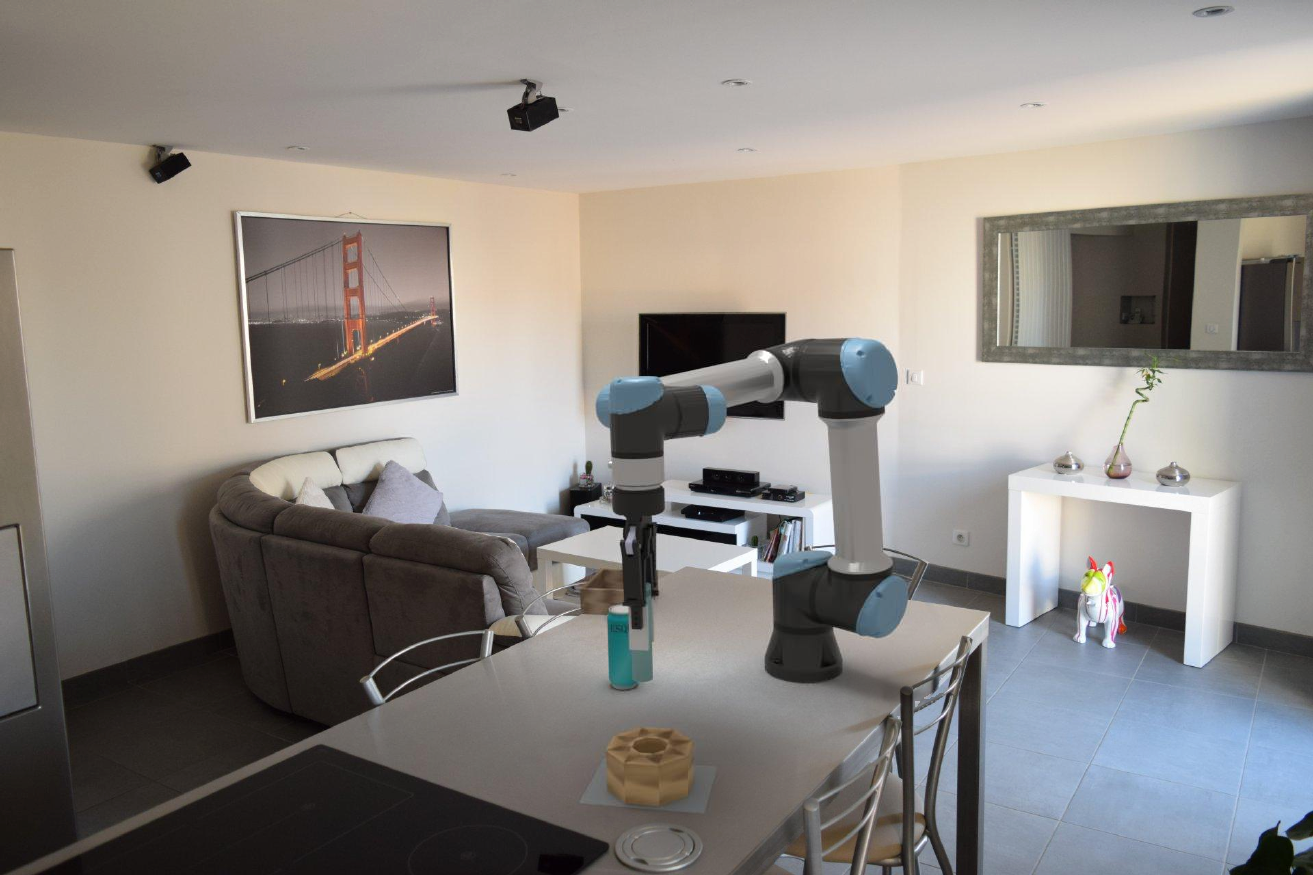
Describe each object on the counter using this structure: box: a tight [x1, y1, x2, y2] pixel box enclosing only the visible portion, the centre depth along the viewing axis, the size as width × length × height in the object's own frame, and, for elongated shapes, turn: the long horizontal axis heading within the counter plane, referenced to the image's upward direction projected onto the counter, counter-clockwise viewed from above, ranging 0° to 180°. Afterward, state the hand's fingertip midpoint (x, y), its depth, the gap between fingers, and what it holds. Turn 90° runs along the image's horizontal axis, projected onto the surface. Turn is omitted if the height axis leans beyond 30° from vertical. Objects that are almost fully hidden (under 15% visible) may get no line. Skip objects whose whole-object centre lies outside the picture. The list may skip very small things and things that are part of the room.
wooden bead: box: [605, 726, 694, 806], centre depth 137 cm, size 12×12×6 cm
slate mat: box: [578, 757, 719, 815], centre depth 137 cm, size 18×14×1 cm
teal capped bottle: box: [632, 582, 654, 683], centre depth 135 cm, size 3×3×14 cm
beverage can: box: [606, 605, 638, 691], centre depth 176 cm, size 6×6×15 cm
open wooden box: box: [579, 568, 659, 616], centre depth 229 cm, size 15×19×6 cm
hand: (642, 644), depth 135 cm, fingers closed on teal capped bottle, 3 cm apart
